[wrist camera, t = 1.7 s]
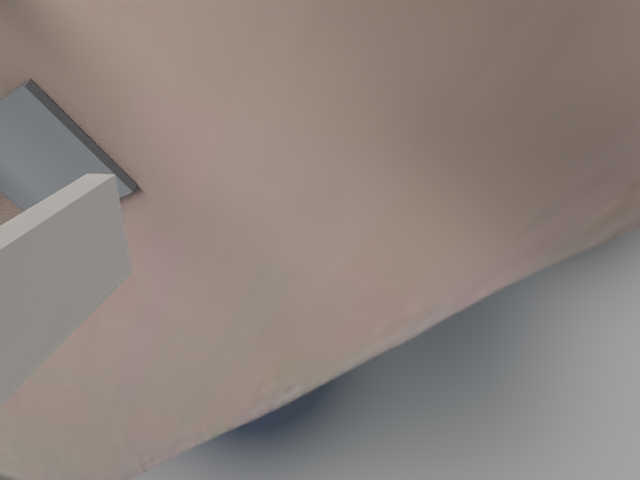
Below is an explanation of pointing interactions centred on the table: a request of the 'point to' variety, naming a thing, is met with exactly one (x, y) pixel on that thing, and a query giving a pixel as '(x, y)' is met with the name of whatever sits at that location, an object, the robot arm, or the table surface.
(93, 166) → the charcoal mat
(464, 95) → the table surface
